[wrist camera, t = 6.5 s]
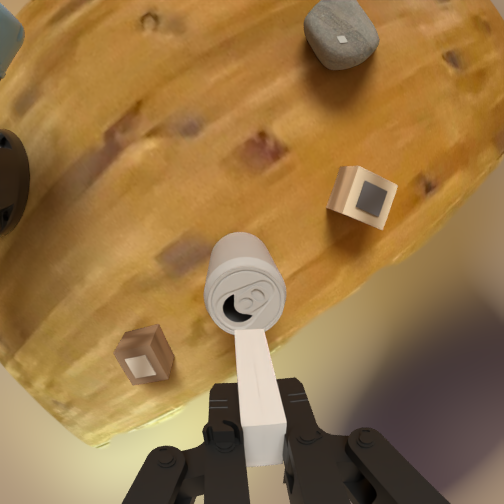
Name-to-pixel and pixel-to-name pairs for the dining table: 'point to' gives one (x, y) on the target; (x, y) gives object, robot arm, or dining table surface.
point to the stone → (340, 33)
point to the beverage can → (243, 284)
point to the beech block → (362, 195)
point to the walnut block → (145, 355)
